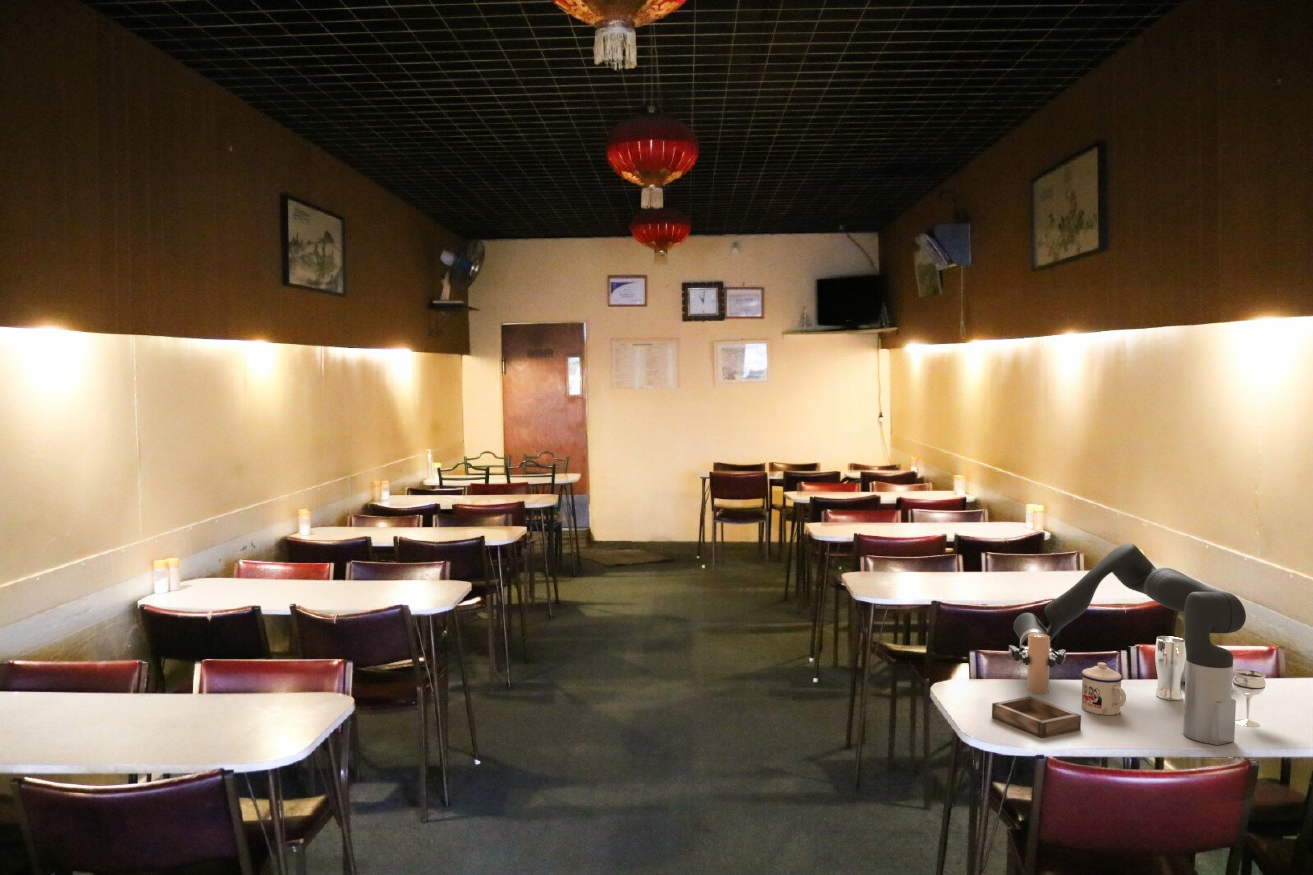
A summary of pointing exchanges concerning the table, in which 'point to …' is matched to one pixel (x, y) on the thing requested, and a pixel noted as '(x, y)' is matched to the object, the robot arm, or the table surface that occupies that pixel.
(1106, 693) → the teacup with lid
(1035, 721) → the tray
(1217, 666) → the robot arm
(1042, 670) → the canister
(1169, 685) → the beer glass
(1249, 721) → the wineglass
